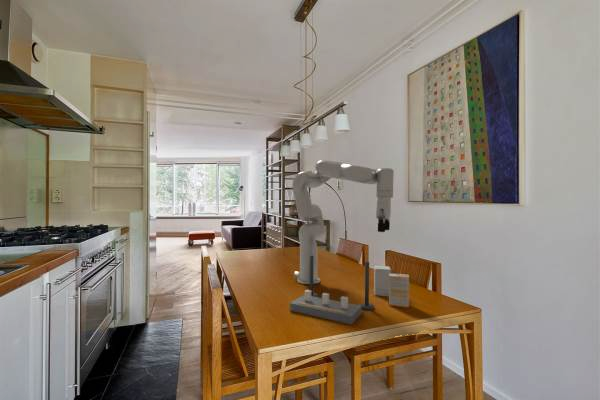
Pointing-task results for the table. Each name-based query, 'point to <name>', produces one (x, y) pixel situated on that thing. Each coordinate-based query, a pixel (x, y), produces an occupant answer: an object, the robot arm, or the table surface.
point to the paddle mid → (325, 298)
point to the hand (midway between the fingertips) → (383, 230)
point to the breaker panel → (326, 309)
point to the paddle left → (307, 295)
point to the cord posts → (365, 305)
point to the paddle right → (344, 302)
